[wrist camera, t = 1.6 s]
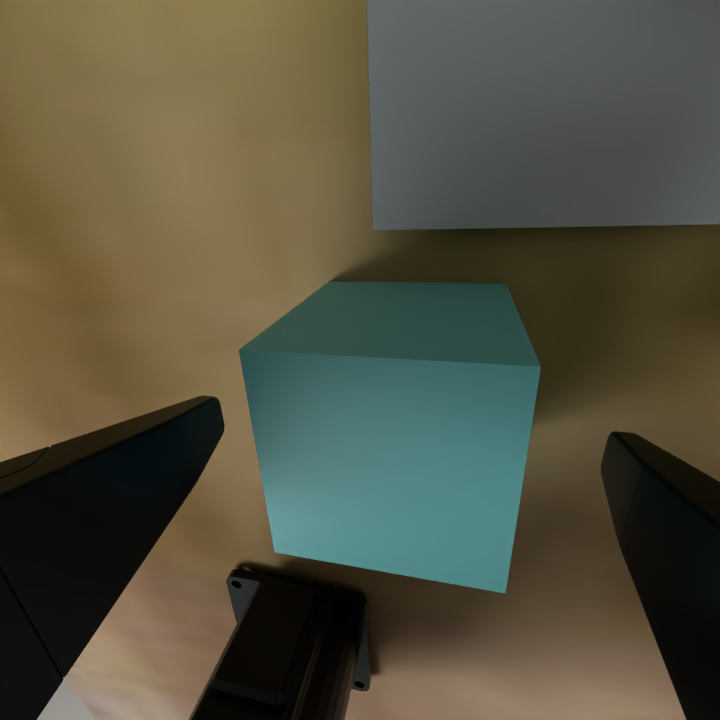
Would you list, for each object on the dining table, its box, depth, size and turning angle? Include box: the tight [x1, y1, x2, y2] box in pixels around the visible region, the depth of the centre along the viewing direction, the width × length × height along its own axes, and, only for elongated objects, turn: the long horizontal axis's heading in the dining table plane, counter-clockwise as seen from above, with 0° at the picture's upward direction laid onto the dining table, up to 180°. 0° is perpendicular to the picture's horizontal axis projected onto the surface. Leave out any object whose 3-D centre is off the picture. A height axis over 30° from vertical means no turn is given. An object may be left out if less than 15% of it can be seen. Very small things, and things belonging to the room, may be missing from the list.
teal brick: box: [239, 281, 541, 594], centre depth 10 cm, size 5×5×6 cm
